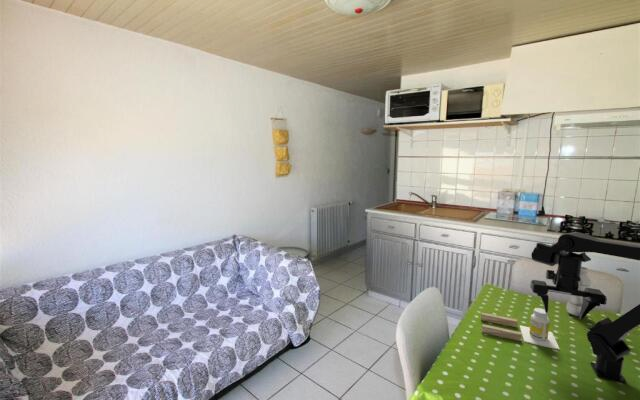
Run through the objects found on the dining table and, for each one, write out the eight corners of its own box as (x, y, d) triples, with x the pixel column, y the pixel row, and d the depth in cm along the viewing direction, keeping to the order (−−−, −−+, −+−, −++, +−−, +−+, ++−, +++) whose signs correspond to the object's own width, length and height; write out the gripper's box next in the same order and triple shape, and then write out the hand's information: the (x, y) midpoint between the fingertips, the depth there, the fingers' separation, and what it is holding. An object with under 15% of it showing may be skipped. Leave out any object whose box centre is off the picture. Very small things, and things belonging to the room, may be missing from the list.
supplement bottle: (541, 332, 111) (544, 307, 110) (551, 341, 106) (554, 315, 104) (525, 331, 112) (528, 306, 110) (534, 340, 106) (537, 314, 105)
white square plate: (559, 349, 102) (559, 348, 102) (524, 341, 106) (524, 340, 106) (551, 332, 112) (551, 331, 112) (519, 326, 116) (519, 325, 116)
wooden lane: (520, 341, 107) (521, 334, 106) (482, 332, 112) (482, 326, 112) (516, 325, 116) (517, 319, 116) (481, 318, 122) (481, 312, 121)
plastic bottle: (562, 312, 126) (567, 266, 123) (571, 309, 129) (577, 264, 126) (580, 320, 120) (587, 272, 117) (589, 316, 123) (596, 269, 120)
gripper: (596, 267, 101) (590, 311, 104) (529, 258, 110) (525, 299, 112) (610, 279, 92) (603, 327, 94) (535, 269, 100) (531, 313, 102)
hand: (563, 315), depth 101 cm, fingers open, 9 cm apart
